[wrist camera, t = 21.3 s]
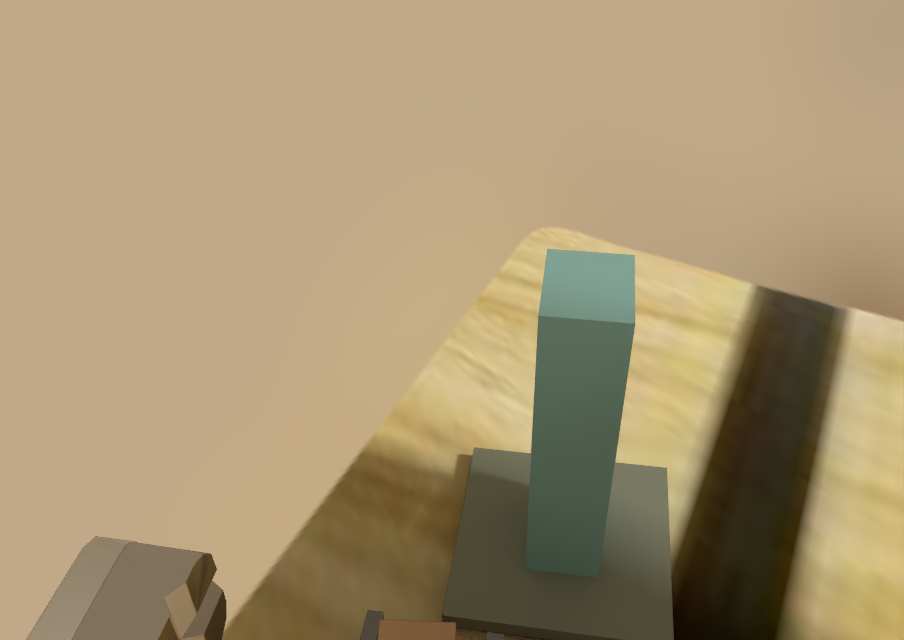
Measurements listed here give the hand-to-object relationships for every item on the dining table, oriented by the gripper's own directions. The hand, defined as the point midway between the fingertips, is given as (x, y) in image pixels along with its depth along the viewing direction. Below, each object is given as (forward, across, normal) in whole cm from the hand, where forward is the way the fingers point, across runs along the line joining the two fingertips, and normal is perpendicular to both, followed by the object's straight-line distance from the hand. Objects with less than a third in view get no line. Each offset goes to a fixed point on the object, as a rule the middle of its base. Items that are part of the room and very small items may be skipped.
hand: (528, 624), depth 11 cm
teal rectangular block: (+25, -1, +31) cm, 40 cm away
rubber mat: (+25, -1, +32) cm, 41 cm away
